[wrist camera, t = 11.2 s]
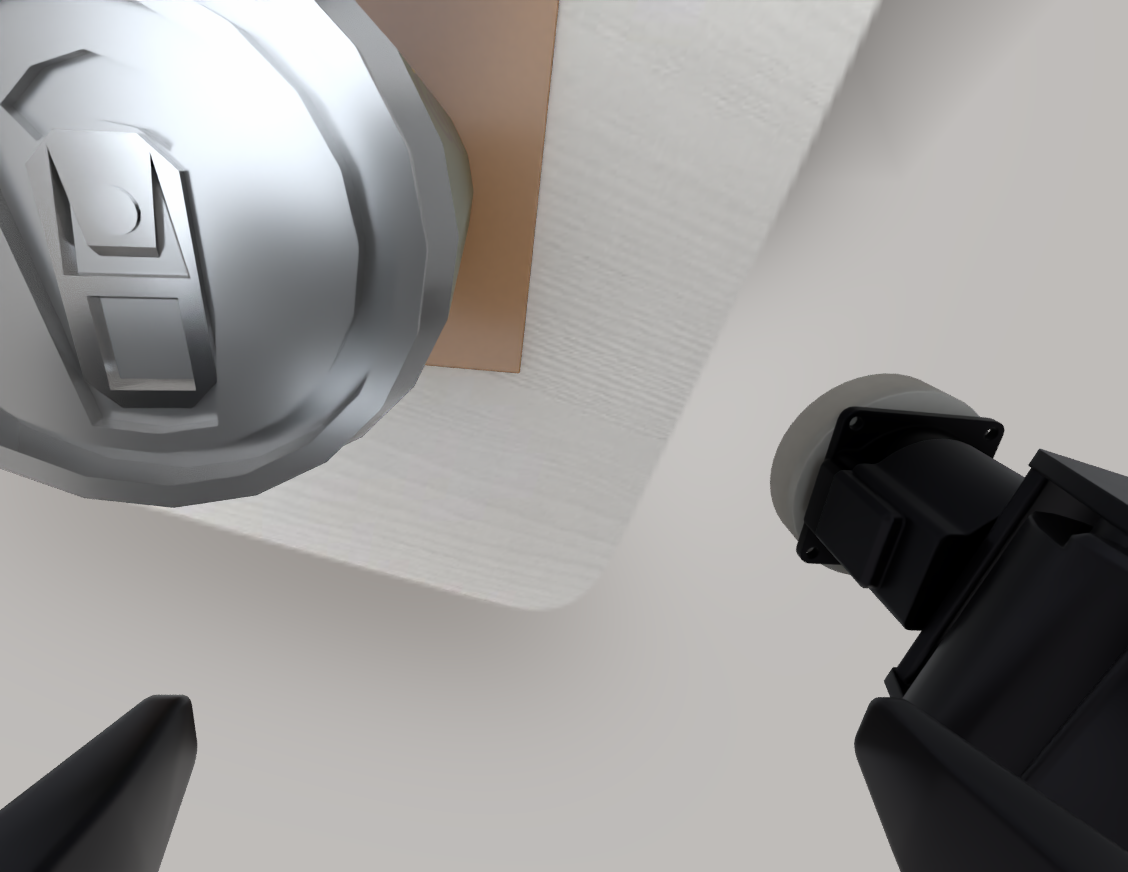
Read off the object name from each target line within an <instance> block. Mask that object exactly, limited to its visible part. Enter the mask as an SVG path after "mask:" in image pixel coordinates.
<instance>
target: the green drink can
mask: <svg viewBox="0 0 1128 872" xmlns="http://www.w3.org/2000/svg"><path fill="white" fill-rule="evenodd" d="M473 192H474V190H473V184H472V178H471V171H470V165H469V159H468V154H467V151H466V149H465V147H464V145H463V143H462V141H461V139H460V137H459V134H458V132H457V130H456V128H455V126H454V124H453V122H452V120H451V118H450V117H449V115H448V114H447V113H446V112H445V110H444V109H443V108H442V106H441V105H440V104H439V102H438V101H437V100H436V99H435V97H434V96H433V95H432V93H431V92H430V91H429V90H428V88H427V87H426V86H425V84H424V83H423V82H422V80H421V79H420V78H419V77H418V75H417V74H416V73H415V71H414V70H413V69H412V68H411V66H410V65H409V64H408V62H407V61H406V60H405V58H404V57H403V56H402V55H401V53H400V52H399V51H398V49H397V48H396V47H395V46H394V45H393V44H392V42H391V41H390V40H389V39H388V38H387V37H386V36H385V34H384V33H383V32H382V31H381V30H380V29H379V28H378V26H377V25H376V24H375V23H374V22H373V21H372V20H371V18H370V17H369V16H368V15H367V14H366V13H365V12H364V10H363V9H362V8H361V7H360V6H359V5H358V4H357V3H356V1H355V0H0V469H3V470H6V471H9V472H12V473H14V474H17V475H20V476H23V477H26V478H29V479H31V480H34V481H37V482H40V483H43V484H46V485H48V486H51V487H54V488H57V489H60V490H63V491H66V492H68V493H71V494H74V495H77V496H80V497H83V498H89V499H99V500H108V501H117V502H126V503H135V504H145V505H154V506H163V507H172V508H175V507H182V506H188V505H195V504H202V503H208V502H215V501H222V500H228V499H235V498H241V497H248V496H255V495H258V494H260V493H262V492H264V491H266V490H268V489H271V488H273V487H275V486H277V485H279V484H281V483H283V482H285V481H287V480H290V479H292V478H294V477H296V476H298V475H300V474H302V473H304V472H306V471H309V470H311V469H313V468H315V467H317V466H319V465H321V464H323V463H325V462H327V461H328V460H329V459H330V458H331V457H332V456H333V455H334V454H335V453H336V452H337V451H338V450H339V449H340V448H342V447H343V446H344V445H346V444H348V443H350V442H353V441H355V440H357V439H359V438H361V437H362V436H364V435H365V434H366V433H367V432H368V431H369V430H370V429H371V428H372V427H373V426H374V425H375V424H376V423H377V422H378V421H379V420H380V419H381V418H382V417H383V416H384V415H385V414H386V413H387V412H388V411H389V410H390V409H391V408H392V407H393V406H395V405H396V404H397V403H398V402H399V401H400V400H401V399H402V398H403V397H404V396H405V395H406V394H407V393H408V392H409V391H410V390H411V389H412V388H413V387H414V386H415V384H416V382H417V380H418V378H419V376H420V374H421V372H422V370H423V368H424V366H425V364H426V362H427V360H428V358H429V356H430V354H431V352H432V350H433V348H434V346H435V344H436V342H437V340H438V338H439V336H440V334H441V332H442V330H443V328H444V326H445V324H446V322H447V320H448V316H449V311H450V307H451V302H452V298H453V294H454V289H455V285H456V280H457V276H458V271H459V267H460V263H461V258H462V254H463V249H464V245H465V240H466V236H467V232H468V227H469V221H470V214H471V206H472V199H473Z"/></svg>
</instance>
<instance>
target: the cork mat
mask: <svg viewBox="0 0 1128 872" xmlns="http://www.w3.org/2000/svg"><path fill="white" fill-rule="evenodd" d="M355 1H356V3H357V4H358V5H359V6H360V7H361V8H362V9H363V10H364V12H365V13H366V14H367V15H368V16H369V17H370V18H371V20H372V21H373V22H374V23H375V24H376V25H377V26H378V28H379V29H380V30H381V31H382V32H383V33H384V34H385V36H386V37H387V38H388V39H389V40H390V41H391V42H392V44H393V45H394V46H395V47H396V48H397V49H398V51H399V52H400V53H401V55H402V56H403V57H404V58H405V60H406V61H407V62H408V64H409V65H410V66H411V68H412V69H413V70H414V71H415V73H416V74H417V75H418V77H419V78H420V79H421V80H422V82H423V83H424V84H425V86H426V87H427V88H428V90H429V91H430V92H431V93H432V95H433V96H434V97H435V99H436V100H437V101H438V102H439V104H440V105H441V106H442V108H443V109H444V110H445V112H446V113H447V114H448V115H449V117H450V118H451V120H452V122H453V124H454V126H455V128H456V130H457V132H458V134H459V137H460V139H461V141H462V143H463V145H464V147H465V149H466V151H467V154H468V159H469V165H470V171H471V178H472V184H473V190H474V192H473V199H472V206H471V214H470V221H469V227H468V232H467V236H466V240H465V245H464V249H463V254H462V258H461V263H460V267H459V271H458V276H457V280H456V285H455V289H454V294H453V298H452V302H451V307H450V311H449V316H448V320H447V322H446V324H445V326H444V328H443V330H442V332H441V334H440V336H439V338H438V340H437V342H436V344H435V346H434V348H433V350H432V352H431V354H430V356H429V358H428V360H427V362H426V364H425V365H429V366H440V367H452V368H463V369H475V370H486V371H498V372H509V373H520V366H521V357H522V348H523V338H524V329H525V319H526V310H527V300H528V291H529V281H530V272H531V262H532V253H533V243H534V234H535V224H536V215H537V205H538V196H539V186H540V177H541V167H542V158H543V148H544V139H545V129H546V120H547V110H548V101H549V92H550V82H551V73H552V63H553V54H554V44H555V35H556V25H557V16H558V6H559V0H355Z"/></svg>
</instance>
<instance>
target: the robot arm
mask: <svg viewBox="0 0 1128 872" xmlns="http://www.w3.org/2000/svg"><path fill="white" fill-rule="evenodd" d="M855 417H857V420H856V422H855V423H854V424H853V425H850V422H851V420H852V419H853V418H855ZM989 429H990V431H989V432H988V434H986V432H987V431H988V430H989ZM1004 431H1005V430H1004V426H1003V425H1002V424H1001V423H1000V422H998V421H996V420H994V419H991V418H986V417H975V416H963V415H951V414H940V413H928V412H916V411H905V410H893V409H881V408H870V407H858V406H852V407H848V408H846V409H844V410H843V411H842V412H841V413H840V415H839V417H838V419H837V422H836V425H835V428H834V431H833V434H832V437H831V441H830V444H829V447H828V450H827V453H826V456H825V459H824V462H823V463H822V464H821V466H820V469H819V473H818V476H817V479H816V482H815V485H814V488H813V491H812V494H811V497H810V500H809V504H808V507H807V510H806V513H805V516H804V524H803V527H802V530H801V533H800V537H799V540H798V543H797V546H796V552H797V555H798V556H799V557H800V558H801V560H802V561H804V562H805V563H809V564H831V565H842V566H843V567H844V568H845V569H846V570H847V571H848V573H849V574H850V575H851V576H852V577H853V578H854V579H855V580H856V581H857V583H858V584H859V585H860V586H861V587H863V588H869V589H870V590H871V591H872V592H873V593H874V594H875V596H876V597H877V598H878V599H879V600H880V601H881V602H882V603H883V604H884V605H885V607H886V608H887V609H888V610H889V611H890V612H891V613H892V614H893V616H894V617H895V618H896V619H897V620H898V621H899V622H900V623H901V624H902V626H903V627H904V628H905V629H907V630H917V631H918V630H919V631H920V630H921V633H920V634H919V636H918V637H917V639H916V640H915V642H914V643H913V644H912V646H911V647H910V649H909V650H908V652H907V653H906V655H905V656H904V658H903V659H902V661H901V662H900V664H899V665H898V667H893V668H892V669H891V671H890V672H889V674H888V675H887V677H886V678H885V680H884V683H885V685H886V688H887V690H888V693H889V695H890V697H878V698H875V699H873V700H872V701H871V702H870V704H869V706H868V708H867V711H866V713H865V715H864V717H863V720H862V722H861V725H860V727H859V729H858V731H857V734H856V737H855V742H854V745H855V753H856V757H857V760H858V763H859V765H860V768H861V771H862V773H863V776H864V779H865V781H866V784H867V786H868V789H869V791H870V794H871V797H872V799H873V802H874V805H875V807H876V810H877V812H878V815H879V818H880V820H881V823H882V826H883V828H884V831H885V833H886V836H887V839H888V841H889V844H890V846H891V849H892V852H893V854H894V856H895V859H896V862H897V864H898V866H899V869H900V871H901V872H1128V477H1127V476H1124V475H1120V474H1118V473H1114V472H1111V471H1108V470H1105V469H1102V468H1099V467H1096V466H1093V465H1089V464H1086V463H1083V462H1080V461H1077V460H1074V459H1071V458H1068V457H1064V456H1061V455H1058V454H1055V453H1052V452H1048V451H1045V450H1043V449H1039V450H1038V451H1037V453H1036V455H1035V456H1034V457H1033V459H1032V461H1031V462H1030V463H1029V466H1030V467H1031V469H1030V471H1029V472H1028V474H1027V475H1026V477H1023V476H1021V475H1020V474H1018V473H1016V472H1015V471H1013V470H1011V469H1009V468H1008V467H1006V466H1004V465H1003V464H1001V463H999V462H998V461H996V460H994V459H993V458H994V455H995V453H996V451H997V449H998V446H999V444H1000V442H1001V440H1002V437H1003V435H1004ZM985 434H986V435H985ZM810 548H813V550H812V551H810V552H807V551H808V550H809V549H810ZM196 754H197V738H196V731H195V724H194V717H193V710H192V704H191V701H190V699H189V698H188V697H187V696H184V695H153V696H150V697H148V698H146V699H144V700H143V701H142V702H140V703H139V704H138V705H136V706H135V707H134V708H132V709H131V710H130V711H129V712H127V713H126V714H125V715H123V716H122V717H121V718H119V719H118V720H117V721H116V722H114V723H113V724H112V725H110V726H109V727H108V728H106V729H105V730H104V731H103V732H101V733H100V734H99V735H97V736H96V737H95V738H94V739H92V740H91V741H90V742H88V743H87V744H86V745H84V746H83V747H82V748H81V749H79V750H78V751H77V752H75V753H74V754H73V755H71V756H70V757H69V758H67V759H66V760H65V761H64V762H62V763H61V764H60V765H58V766H57V767H56V768H54V769H53V770H52V771H51V772H49V773H48V774H47V775H45V776H44V777H43V778H41V779H40V780H39V781H38V782H36V783H35V784H34V785H32V786H31V787H30V788H29V789H27V790H26V791H24V792H23V793H22V794H21V795H19V796H18V797H17V798H15V799H14V800H13V801H11V802H10V803H9V804H8V805H6V806H5V807H4V808H2V809H1V810H0V872H158V871H159V868H160V865H161V862H162V859H163V856H164V853H165V850H166V847H167V844H168V841H169V838H170V835H171V832H172V829H173V826H174V823H175V820H176V817H177V814H178V811H179V808H180V805H181V802H182V799H183V796H184V794H185V791H186V788H187V785H188V782H189V779H190V776H191V773H192V770H193V767H194V764H195V759H196Z"/></svg>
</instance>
